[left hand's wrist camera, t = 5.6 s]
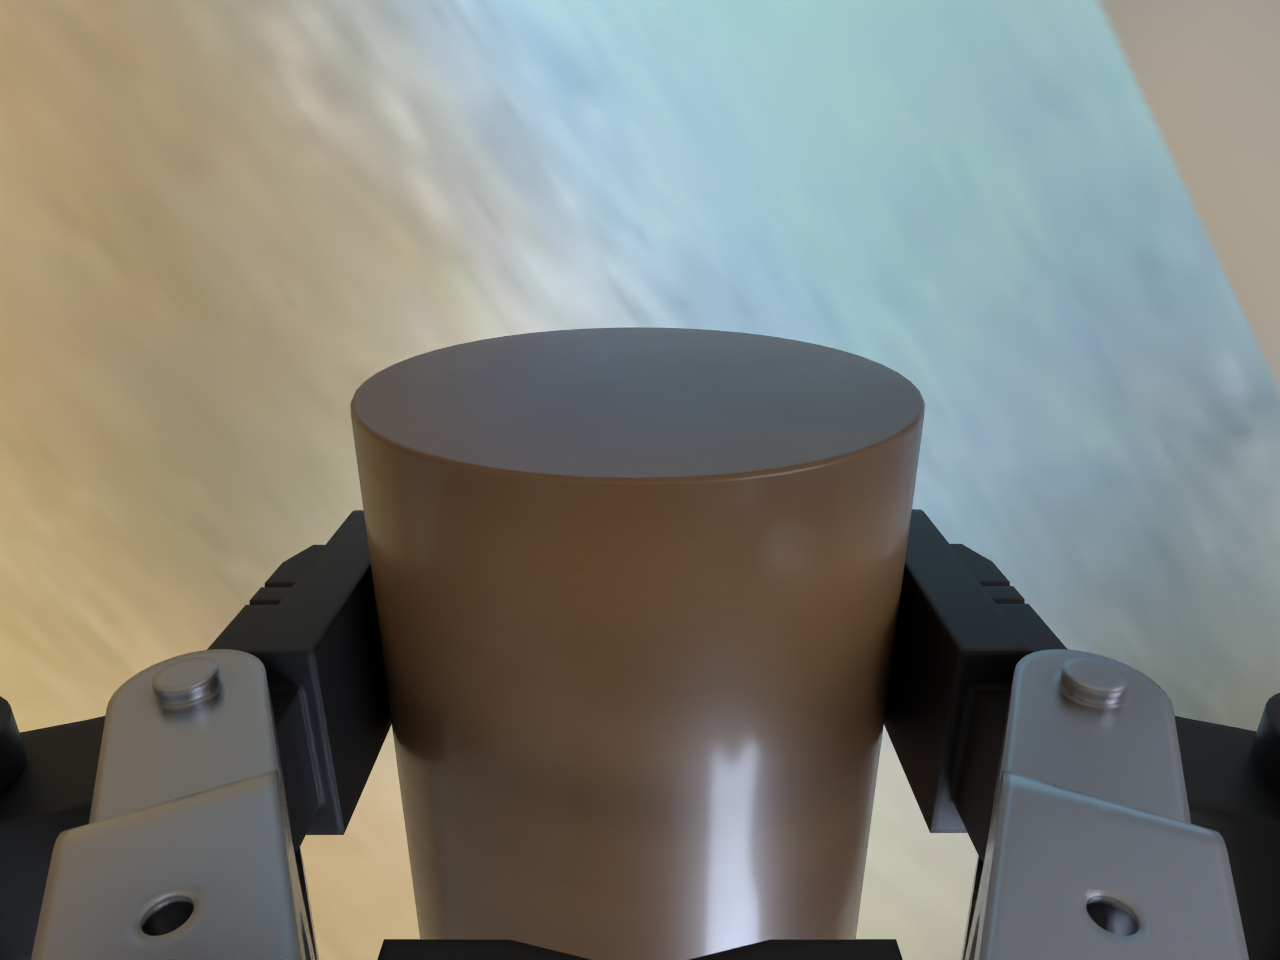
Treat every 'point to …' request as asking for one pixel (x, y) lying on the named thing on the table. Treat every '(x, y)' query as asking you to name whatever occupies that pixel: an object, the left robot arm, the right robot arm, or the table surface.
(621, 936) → the rod
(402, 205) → the table surface
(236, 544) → the table surface
